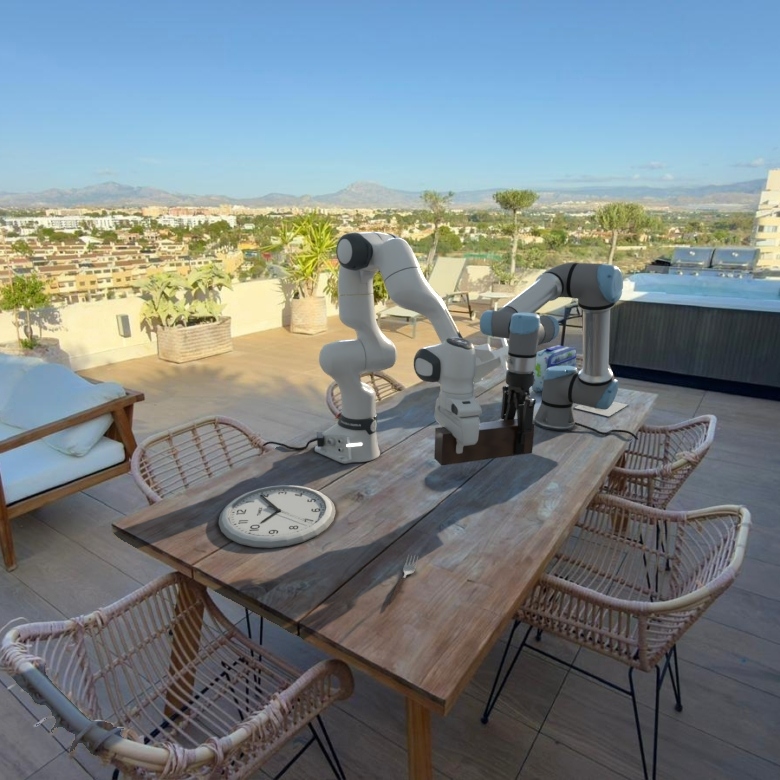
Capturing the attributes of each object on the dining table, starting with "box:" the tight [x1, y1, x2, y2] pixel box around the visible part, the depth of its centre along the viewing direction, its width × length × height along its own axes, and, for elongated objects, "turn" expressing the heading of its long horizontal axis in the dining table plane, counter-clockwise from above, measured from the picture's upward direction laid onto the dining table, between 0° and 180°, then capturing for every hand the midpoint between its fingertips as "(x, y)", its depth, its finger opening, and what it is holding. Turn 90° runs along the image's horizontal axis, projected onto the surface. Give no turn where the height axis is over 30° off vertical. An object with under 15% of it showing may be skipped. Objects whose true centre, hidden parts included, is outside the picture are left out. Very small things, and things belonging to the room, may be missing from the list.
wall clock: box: [218, 484, 336, 549], centre depth 137 cm, size 30×2×30 cm
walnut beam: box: [433, 418, 536, 467], centre depth 145 cm, size 28×5×9 cm, turn 108°
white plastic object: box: [473, 338, 509, 386], centre depth 245 cm, size 37×45×31 cm
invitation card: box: [573, 400, 629, 418], centre depth 226 cm, size 21×1×15 cm
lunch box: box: [531, 345, 577, 393], centre depth 245 cm, size 26×11×21 cm, turn 134°
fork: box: [388, 554, 419, 606], centre depth 112 cm, size 3×16×2 cm, turn 160°
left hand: (453, 447), depth 142 cm, fingers closed on walnut beam, 5 cm apart
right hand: (513, 449), depth 149 cm, fingers closed on walnut beam, 5 cm apart
